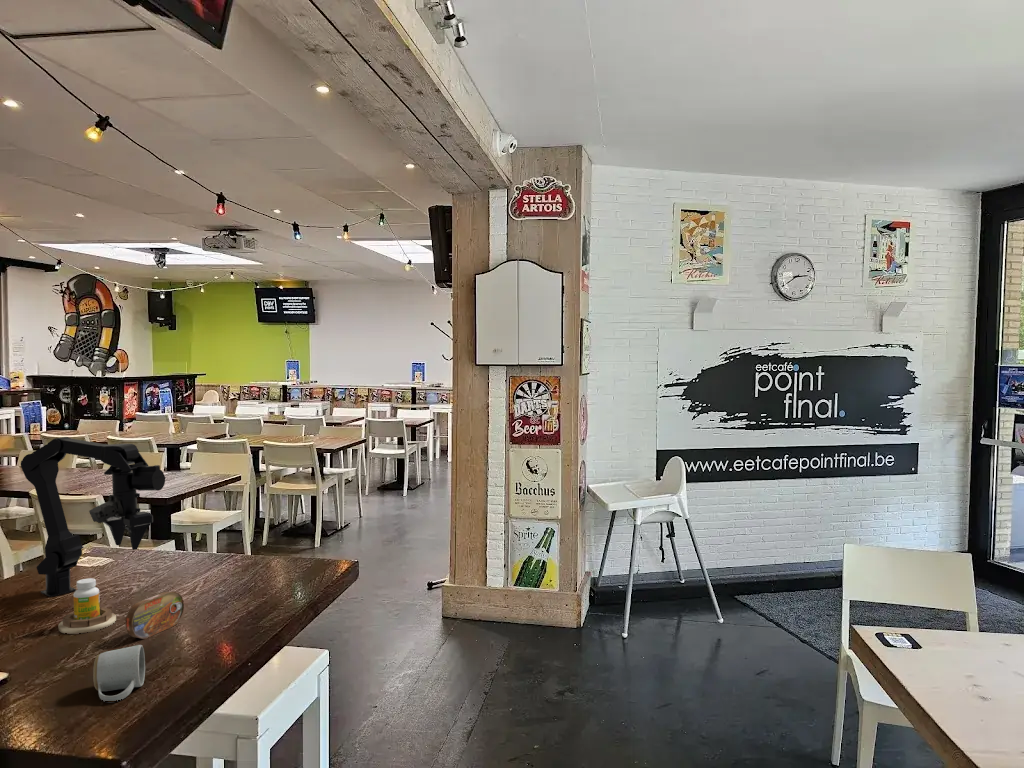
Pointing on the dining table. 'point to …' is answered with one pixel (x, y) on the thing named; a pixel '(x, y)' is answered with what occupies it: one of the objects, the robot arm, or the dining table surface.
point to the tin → (154, 614)
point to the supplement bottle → (86, 600)
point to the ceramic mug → (119, 671)
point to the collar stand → (87, 622)
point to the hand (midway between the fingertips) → (126, 547)
